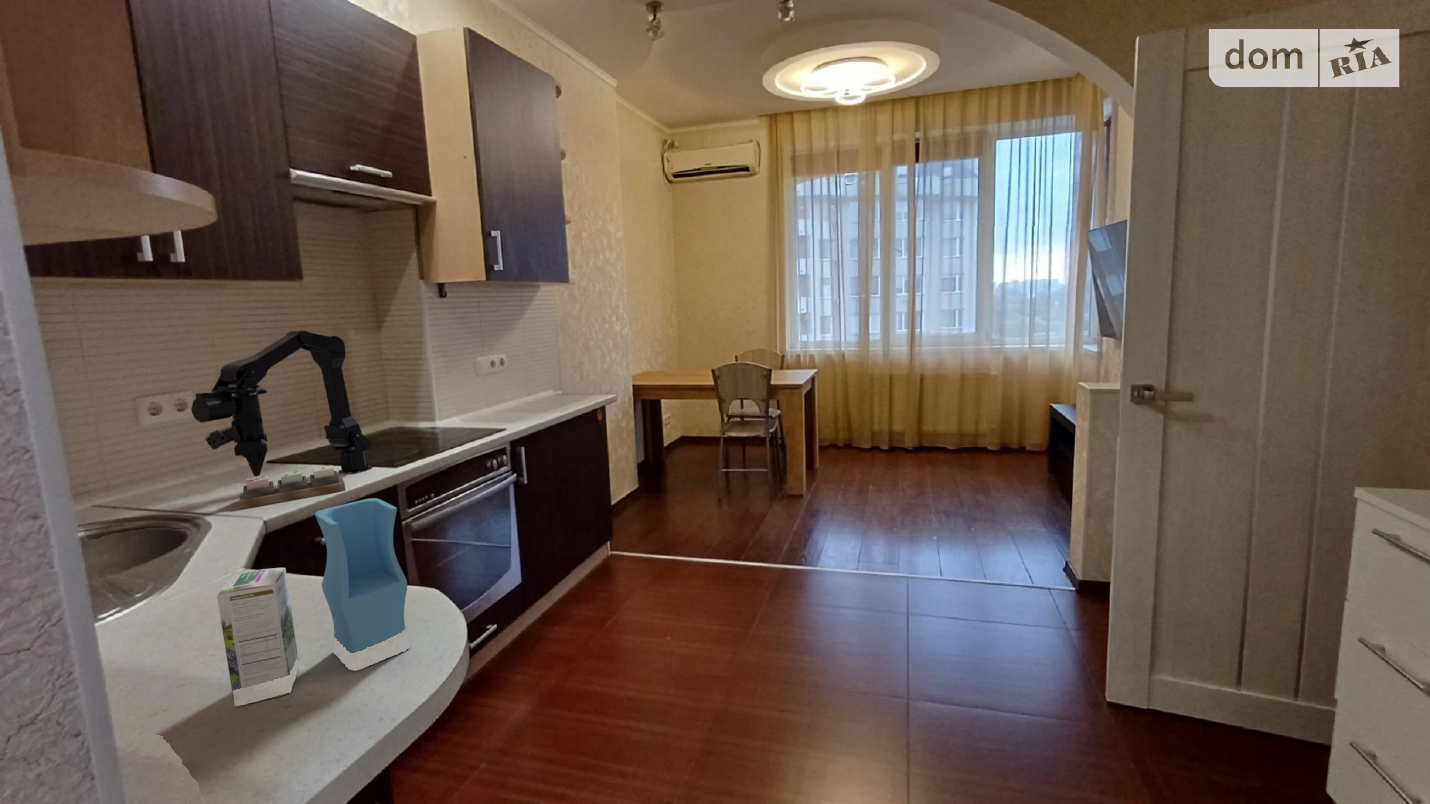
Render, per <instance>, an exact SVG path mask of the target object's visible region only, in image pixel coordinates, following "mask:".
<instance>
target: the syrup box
mask: <svg viewBox="0 0 1430 804" xmlns="http://www.w3.org/2000/svg"><path fill="white" fill-rule="evenodd" d="M286 569H287V568H286V567H275V568H263V569H256V570H250V571H246V572H241V573H238V574H235V575H232V576H231V577H230V578H229V579H228V581H227V582H226V583H225V585H224V586H223V588H222V589H221V590H220V591H219V593H218V594H217V603H218V610H219V615H220V623H221V629H222V637H223V642H224V649H225V655H226V662H227V667H228V675H229V680H230V685H231V686H230V687H231V692H232V691H233V690H236V689H240V688H247V687H250V686H253V685H258V684H261V683H265V682H268V681H273V680H274V679H278V678H283V677H286V676H288V675H290V671H291V670H292V668H293V666H294V663H295V661H296V659H297V656H298V657H299V655H298V648H297V642H296V635H295V634H296V633H295V627H294V618H293V611H292V605H291V596H290V590H289V586H288V585H289V584H288V577H287V570H286Z"/></svg>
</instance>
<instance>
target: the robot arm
mask: <svg viewBox="0 0 1430 804" xmlns="http://www.w3.org/2000/svg"><path fill="white" fill-rule="evenodd" d="M300 349H301V350H304V351H307V352H310V354H311V357H312V359H313V361H314V362H315V363H316V365H317V366H319V368H320V370H321V374H322V378H323V379H322V380H323V384H324V389H325V393H326V394H325V395H326V398H327V404H328V408H329V414H330V420H329V423H328V424H327V425H326V424H325V425H324V427H323V428H324V429H323V430H324V432H325V440H328V443H329V444H330V445H332V447H333V450H334V452H339V454H340V455H339V456H340V457H339V461H340V468H341V469H340V470H337V471H338V472H337V473H342V474H343V473H344V474H358V473H361V472H363V471H367V470H369V469H372V468H374V466H373V465H369V461H368V460H369V459H368V452H367V451H368V450H371V449H372V448H371V447H372V441H371V439H369V438H368V437H367V436H365V435H364V434H363V432H362V429H361V427H360V424H359V422H358V421H357V420H356V419H355V418H354V417H353V415H352V412H351V408H350V403H349V402H350V401H349V397H348V392H347V388H346V383H345V378H344V372H343V364H344V361H345V359H346V345H345V341H344V340H343V339H342V338H341V337H339V336H337V335H323V334H318V333H314V332H310V331H308V330H304V329H303V330H301V329H300V330H291V331H289V332H288V333H287V334H286V335H284V336H283V337H281V338H279V339H277V340H276V341H274V342H273V343H271V344H270V345H268V346H266V347H265V348H263V349H261V350H260V351H259V352H257V353H255V354H253V355H250V356H249V357H245V358H242V359H238V360H235V361H232V362H230V363H226V364H225V365H224V366H223V367H221V368H220V375H219V377H218V379H217V380H216V382H215V384H214V385H213V388H211V389H212V390H211V391H209V392H197V393H196V392H195V399H193V401H192V405H191V408H190V411H191V414H192V417H194V419H195V420H196V421H197V422H199V423H202V424H203V423H208V422H213V421H219V420H224V419H229V418H231V417H232V420H231V422H230V424H231V425H230V426H227V427H225V428H222V429H220V430H218V429H216V430H215V431H212V432H210V433H209V434H208V435H205V437H204V440H205V441H206V442H207V445H208V446H209V447H210V448H211V449H212V450H217V449H219V448H220V447H222V446H224V445H226V444H228V443H231V442H233V443H234V446H233V451H234V456H236V457H239V456H241V457H243V458H244V459H246V462H247V463H248V466H249V468H250V470H251V472H252V475H253V476H254V478H255V477H261V472H262V469H263V466H264V462H265V458H266V455H267V452H269V450H268V449H269V448H268V443H267V442H268V435H267V432H266V431H265V429H264V422H263V421H264V420H263V416H262V410H261V403H260V399H259V395H264V394H267V393H268V391H267V390H266V389H264V388H262V386H260V385H259V383H260V382H261V381H262V380H264V379H265V377H266V376H267V373H268V371H269V370H271V369H272V368H273V367H274V366H276V365H277V364H279V363H280V362H282V361H283V360H285V359H286V358H288V357H289V356H291V355H293V354H294V353H296V352H297V351H299V350H300Z"/></svg>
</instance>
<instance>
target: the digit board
mask: <svg viewBox="0 0 1430 804" xmlns="http://www.w3.org/2000/svg"><path fill="white" fill-rule="evenodd" d="M337 471H338V470H334V474H335V475H334V476H328V477H322V478H316V479H315V478H314V473H313V474H309V477H310V478H309V479H310V480H309V481H307V477H306V475H302V479H303V481H298V482H292V483H286V484H282V482H281V479H277V486H274V480H272V481H270V480H269V486H268V487H262V488H256V489H250V490H247V486H246V485H243V488H242V489H243V490H242V492H240V493H239V499H238V504H239V509H240V510H245V509H250V508H256V507H261V506H266V505H272V504H277V503H284V502H288V501H294V500H300V499H305V498H310V497H317V496H321V495H326V494H333V493H337V492H343V491H346V483H345V481H344V479H343V477H342V475H339V474H338V473H339V472H337Z"/></svg>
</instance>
